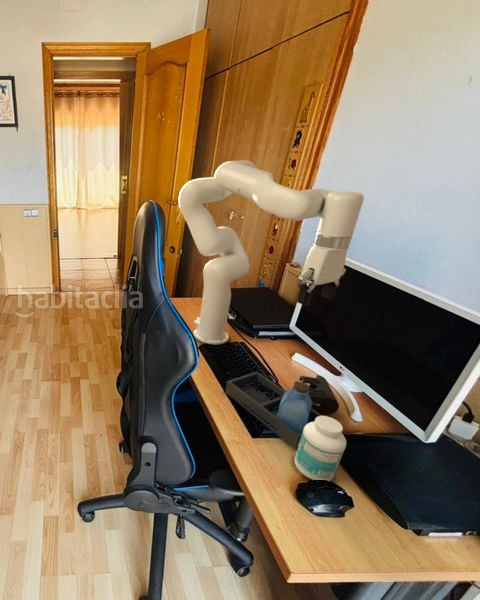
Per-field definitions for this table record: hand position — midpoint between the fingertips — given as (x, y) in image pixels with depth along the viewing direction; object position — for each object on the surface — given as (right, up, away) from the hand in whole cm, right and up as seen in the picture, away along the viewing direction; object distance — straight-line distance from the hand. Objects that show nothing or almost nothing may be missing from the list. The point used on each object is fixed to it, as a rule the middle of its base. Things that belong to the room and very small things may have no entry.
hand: (314, 300), depth 92 cm
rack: (-14, -30, -3) cm, 34 cm away
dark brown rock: (-1, -29, -1) cm, 29 cm away
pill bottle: (-14, -38, -19) cm, 45 cm away
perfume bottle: (-12, -32, -7) cm, 35 cm away
